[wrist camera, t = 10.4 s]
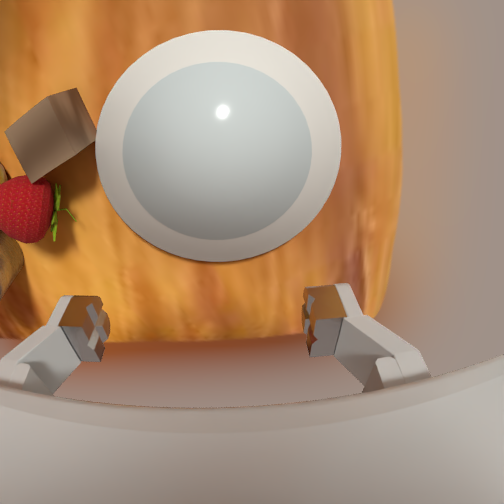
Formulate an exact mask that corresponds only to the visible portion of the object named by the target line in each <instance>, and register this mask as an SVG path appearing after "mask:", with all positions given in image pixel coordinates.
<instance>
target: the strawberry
mask: <svg viewBox="0 0 504 504" xmlns="http://www.w3.org/2000/svg"><path fill="white" fill-rule="evenodd" d="M60 188H61V185H59V188H57V183H56V184H55V192H54V198H53V194H52V190H51V185H50V183H49V182H48V181H47V180H46V178H44V177H41V178H39V179H38V180H36V181H35V182H34V183H32V184H31V182H30V180H29V178H28V177H27V175H24V176H18V177H15V178H13V179H10V180H8V181H6V182H4V183H2V184H0V230H2V231H3V232H4V233H5V234H6V235H8V236H9V237H10V238H13V239H15V240H18V241H21V242H23V243H36V242H38V241H39V240H41V239H42V238H44V236H45V234H46V232H47V230H48V228H49V226H50V224H51V232H52V230H53V241H55V238H56V230H57V222H58V220H57V211H60V210H67V208H65V209H59V206H60V198H61V195H60ZM67 211H68V210H67ZM68 213H69V214H70V212H69V211H68ZM70 215H71V214H70ZM71 216H72V215H71ZM72 218H73V219H74V217H73V216H72ZM74 220H75V219H74ZM75 221H76V220H75ZM76 222H77V221H76Z"/></svg>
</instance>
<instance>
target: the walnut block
mask: <svg viewBox="0 0 504 504" xmlns="http://www.w3.org/2000/svg"><path fill="white" fill-rule="evenodd" d="M96 133H97V130H96V128H95V126H94V124H93V122H92V120H91V117H90V115H89V113H88V111H87V109H86V107H85V105H84V103H83V101H82V99H81V96H80V94H79V92H78V90H77V88H74V89H70V90H67V91H63V92H60V93H57V94H54V95H50V96H47V97H46V98H45V99H43V100H42V101H41V102H39V103H38V104H37V105H36V106H34V107H33V108H32V109H31V110H29V111H28V112H27V113H26V114H24V115H23V116H22V117H21V118H20V119H18V120H17V121H16V122H15V123H14V124H13V125H11V126H10V127H9V128H8V129H7V130H6V131H5V134H6V136H7V138H8V140H9V142H10V144H11V146H12V148H13V150H14V152H15V154H16V156H17V158H18V160H19V162H20V164H21V165H22V167H23V169H24V171H25V173H26V175H27V177H28V178H29V180H30V182H31V184H32V183H34V182H35V181H36V180H38V179H39V178H41V177H42V176H44V175H45V174H47V173H48V172H50V171H51V170H53V169H54V168H56V167H57V166H59V165H60V164H62V163H63V162H65V161H67V160H68V159H70V158H71V157H73V156H75V155H76V154H77V153H79V152H80V151H81V150H83V149H84V148H86V147H87V146H88V145H90V144H91V143H92V142H94V141H95V140H96Z"/></svg>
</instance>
